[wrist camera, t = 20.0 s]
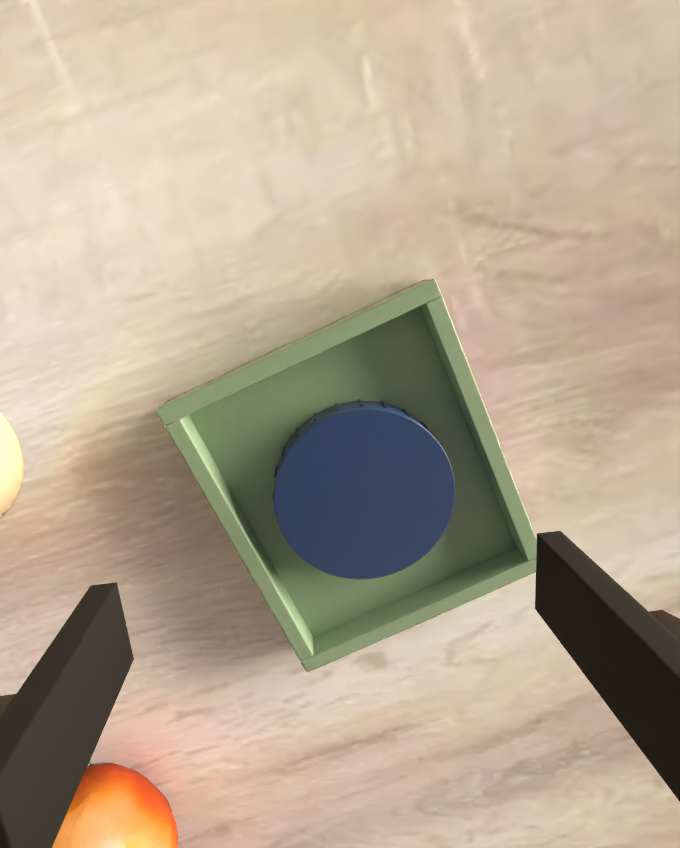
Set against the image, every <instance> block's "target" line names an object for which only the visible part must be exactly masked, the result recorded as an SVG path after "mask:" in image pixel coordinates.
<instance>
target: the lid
mask: <svg viewBox="0 0 680 848" xmlns="http://www.w3.org/2000/svg"><path fill="white" fill-rule="evenodd" d="M428 429H429V428H428V427H427V426H426V425H425V424H424V423H423V422H422V421H421V422H420V421H418V420H417V419H416V418H415V417H413V416H412V415H410V414H409V413H408V412H407V411H406V410H405V409H403V410H402V409H399V408H397V407H395V406H392V405H389V404H385V403H384V401H381V402H374V401H361V400H360V399H358V401H353V402H346V403H342V404H338V405H337V403H336V404H335V406H332V407H330V408H327V409H325V410H323V411H321V412H319V413H317V414H316V413H314V416H313V417H311V418H310V419H308V420H307V421H306V422H305V423H304V424H303V425H301V426H300V427H299V428H296V432H295V433H294V434H293V435H292V437H291V438H290V439H289V441H288V443H287V444H286V446H283V449H282V454H281V457H280V460H279V463H278V467H276V468H275V474H274V477H276V479H275V486H274V491H273V500H274V509H275V515H276V519H277V522H278V525H279V527H280V530H281V532H282V534H283V536H284V538H285V539H286V541H287V542H288V544H289V545H290V546H291V548H292V549H293V550H294V551H295V552H296V553H297V554H298V555H299V556H300V557H301V558H302V559H303V560H305V561H306V562H307V563H309V564H310V565H312V566H313V567H315V568H317V569H319V570H321V571H323V572H325V573H328V574H331V575H334V576H338V577H342V578H348V579H373V578H380V577H384V576H388V575H391V574H394V573H396V572H399V571H401V570H403V569H405V568H407V567H409V566H411V565H412V564H414V563H415V562H417V561H418V560H420V559H421V558H422V557H423V556H425V555H426V554H427V553H428V552H429V551H430V550H431V549H432V548H433V547H434V545H435V544H436V543H437V542H438V540H439V539H440V537H441V536H442V535H443V533H444V531H445V529H446V527H447V525H448V523H449V520H450V517H451V515H452V511H453V506H454V500H455V480H454V475H453V470H452V467H451V464H450V461H449V459H448V457H447V455H446V453H445V451H444V449H443V448H442V447H443V446H442V444H441V443H440V442H439V441H438V440H437V439H436V438H435V437H434V436H433V435H432V434H431V433H430V432H429V431H428Z"/></svg>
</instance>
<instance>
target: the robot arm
mask: <svg viewBox="0 0 680 848" xmlns="http://www.w3.org/2000/svg"><path fill="white" fill-rule="evenodd" d="M535 609H536V610H537V612H538V613H539V614H540V616H541V617H542V618H543V620H544V621H545V622H546V624H547V625H548V626H549V628H550V629H551V630H552V632H553V633H554V634H555V636H556V637H557V638H558V640H559V641H560V642H561V644H562V645H563V646H564V648H565V649H566V650H567V652H568V653H569V654H570V656H571V657H572V658H573V660H574V661H575V662H576V664H577V665H578V666H579V668H580V669H581V670H582V672H583V673H584V674H585V676H586V677H587V678H588V680H589V681H590V682H591V684H592V685H593V686H594V688H595V689H596V690H597V692H598V693H599V694H600V696H601V697H602V698H603V700H604V701H605V702H606V704H607V705H608V706H609V708H610V709H611V710H612V712H613V713H614V714H615V716H616V717H617V718H618V720H619V721H620V722H621V724H622V725H623V726H624V728H625V729H626V730H627V732H628V733H629V734H630V736H631V737H632V738H633V740H634V741H635V742H636V744H637V745H638V746H639V748H640V749H641V750H642V752H643V753H644V754H645V756H646V757H647V758H648V760H649V761H650V762H651V764H652V765H653V766H654V768H655V769H656V770H657V772H658V773H659V774H660V776H661V777H662V778H663V780H664V781H665V782H666V784H667V785H668V786H669V788H670V789H671V790H672V792H673V793H674V794H675V796H676V797H677V798H678V800H679V801H680V619H679V618H677V617H675V616H673V615H671V614H669V613H667V612H665V611H663V610H659V611H651V612H648V611H647V610H646V609H645V608H644V607H643V606H642V605H641V604H639V603H638V602H637V601H636V600H635V599H634V598H633V597H632V596H631V595H630V594H628V593H627V592H626V591H625V590H624V589H623V588H622V587H621V586H620V585H619V584H618V583H616V582H615V581H614V580H613V579H612V578H611V577H610V576H609V575H608V574H607V573H606V572H604V571H603V570H602V569H601V568H600V567H599V566H598V565H597V564H596V563H595V562H594V561H592V560H591V559H590V558H589V557H588V556H587V555H586V554H585V553H584V552H583V551H582V550H580V549H579V548H578V547H577V546H576V545H575V544H574V543H573V542H572V541H571V540H570V539H568V538H567V537H566V536H565V535H564V534H563V533H562V532H561V531H556V532H547V533H539V534H537V555H536V599H535ZM133 660H134V658H133V654H132V649H131V645H130V640H129V636H128V631H127V627H126V622H125V618H124V613H123V609H122V604H121V600H120V595H119V591H118V586H117V583H109V584H100V585H92V586H90V588H89V589H88V591H87V592H86V593H85V595H84V596H83V598H82V599H81V601H80V602H79V604H78V605H77V607H76V608H75V609H74V611H73V612H72V614H71V615H70V617H69V618H68V620H67V621H66V623H65V624H64V626H63V627H62V628H61V630H60V631H59V633H58V634H57V636H56V637H55V639H54V640H53V642H52V643H51V645H50V646H49V647H48V649H47V650H46V652H45V653H44V655H43V656H42V658H41V659H40V661H39V662H38V664H37V665H36V666H35V668H34V669H33V671H32V672H31V674H30V675H29V677H28V678H27V680H26V681H25V682H24V684H23V685H22V687H21V688H20V690H19V691H18V693H17V694H13V695H5V696H0V848H52V846H53V844H54V842H55V839H56V837H57V835H58V832H59V830H60V828H61V826H62V823H63V821H64V819H65V816H66V814H67V812H68V809H69V807H70V805H71V802H72V800H73V798H74V796H75V793H76V791H77V789H78V786H79V784H80V782H81V779H82V777H83V775H84V773H85V770H86V768H87V766H88V763H89V761H90V759H91V756H92V754H93V752H94V749H95V747H96V745H97V743H98V740H99V738H100V736H101V733H102V731H103V729H104V726H105V724H106V722H107V720H108V717H109V715H110V713H111V710H112V708H113V706H114V703H115V701H116V699H117V696H118V694H119V692H120V690H121V687H122V685H123V683H124V680H125V678H126V676H127V673H128V671H129V669H130V667H131V664H132V662H133Z"/></svg>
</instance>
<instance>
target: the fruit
mask: <svg viewBox="0 0 680 848" xmlns="http://www.w3.org/2000/svg"><path fill="white" fill-rule="evenodd" d="M177 847H178V834H177V826H176V822H175V819H174V817H173V814H172V811H171V808H170V805H169V802H168V801H167V799H166V798H165V796H164V795H163V794H162V793H161V792H160V791H159V790H158V789H157V788H156V787H155V786H154V785H153V784H152V783H151V782H150V781H149V780H148V779H146V778H145V777H144V776H143V775H141V774H140V773H138V772H136V771H134V770H131V769H128V768H125V767H122V766H119V765H116V764H112V763H104V764H95V765H92V766H88V767H87V768H86V770H85V773H84V775H83V777H82V779H81V782H80V784H79V786H78V789H77V791H76V793H75V796H74V798H73V800H72V802H71V805H70V807H69V809H68V812H67V814H66V816H65V819H64V821H63V823H62V826H61V828H60V830H59V832H58V835H57V837H56V839H55V842H54V844H53V846H52V848H177Z"/></svg>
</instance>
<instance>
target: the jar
mask: <svg viewBox="0 0 680 848" xmlns="http://www.w3.org/2000/svg"><path fill="white" fill-rule="evenodd" d="M22 478H23V458H22V452H21V448H20V445H19V442H18V440H17V437H16V435H15V433H14V431H13V429H12V428H11V426H10V424H9V423H8V421H7V420H6V419H5V417H4V416H3V415H2V414H1V413H0V517H1V516H2V515H3V514H4V513H5V512H6V511H7V510H8V509H9V508H10V507H11V505H12V504H13V502H14V501H15V499H16V497H17V495H18V493H19V490H20V487H21V484H22Z"/></svg>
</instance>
